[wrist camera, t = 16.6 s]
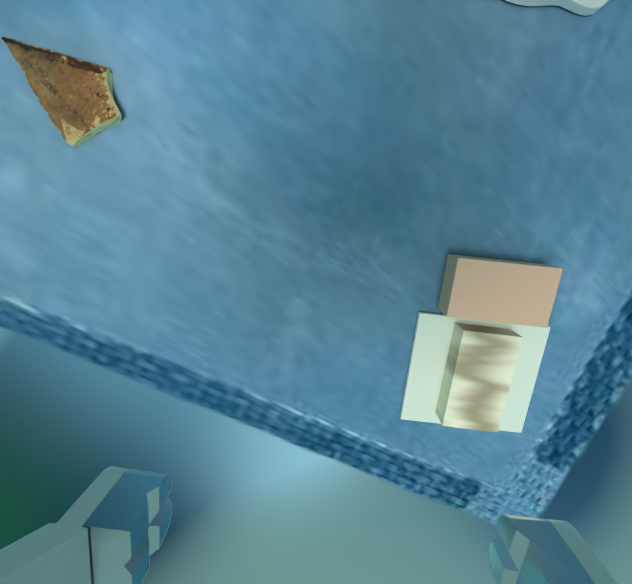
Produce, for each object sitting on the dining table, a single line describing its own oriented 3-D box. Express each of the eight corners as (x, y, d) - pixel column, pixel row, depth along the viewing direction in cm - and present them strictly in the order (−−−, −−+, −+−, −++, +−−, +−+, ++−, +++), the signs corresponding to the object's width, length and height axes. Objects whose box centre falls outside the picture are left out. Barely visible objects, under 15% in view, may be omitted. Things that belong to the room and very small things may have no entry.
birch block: (454, 322, 37) (435, 412, 39) (463, 330, 34) (442, 425, 37) (510, 329, 36) (487, 418, 39) (523, 337, 34) (497, 432, 37)
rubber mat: (399, 416, 40) (400, 419, 40) (418, 311, 37) (419, 313, 36) (518, 429, 40) (521, 432, 39) (546, 325, 37) (550, 327, 36)
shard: (15, 44, 33) (-3, 35, 31) (77, 2, 32) (62, -10, 30) (77, 150, 35) (64, 147, 33) (138, 115, 34) (127, 109, 32)
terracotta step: (437, 308, 37) (446, 316, 34) (448, 253, 35) (458, 257, 33) (529, 318, 37) (546, 327, 34) (543, 263, 35) (563, 268, 32)
